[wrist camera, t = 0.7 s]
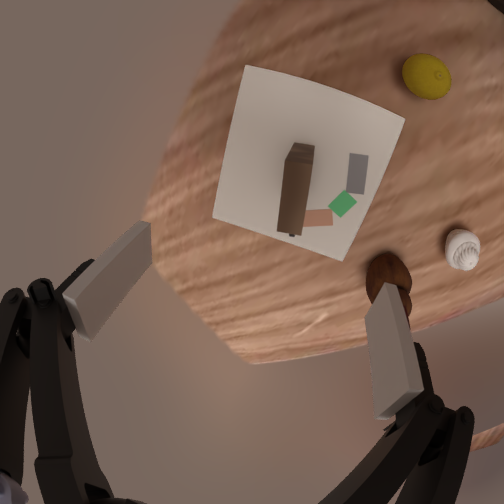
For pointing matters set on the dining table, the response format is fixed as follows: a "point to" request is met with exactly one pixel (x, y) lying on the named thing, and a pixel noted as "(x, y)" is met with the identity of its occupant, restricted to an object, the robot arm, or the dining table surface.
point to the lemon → (426, 76)
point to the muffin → (462, 249)
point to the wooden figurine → (389, 279)
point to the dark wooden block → (295, 189)
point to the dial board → (324, 163)
